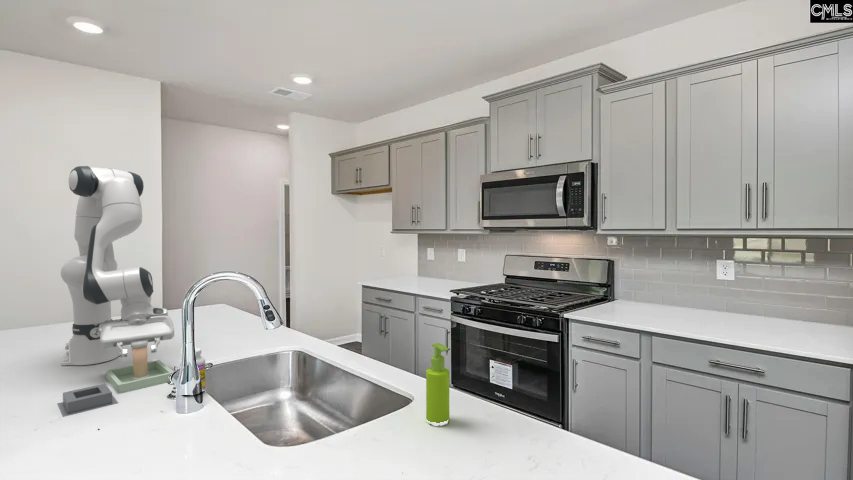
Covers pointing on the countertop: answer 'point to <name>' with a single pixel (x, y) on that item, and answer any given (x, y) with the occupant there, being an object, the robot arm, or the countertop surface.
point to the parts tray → (124, 379)
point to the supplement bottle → (200, 366)
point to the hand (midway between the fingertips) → (139, 353)
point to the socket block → (86, 399)
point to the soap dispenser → (437, 387)
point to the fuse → (140, 359)
